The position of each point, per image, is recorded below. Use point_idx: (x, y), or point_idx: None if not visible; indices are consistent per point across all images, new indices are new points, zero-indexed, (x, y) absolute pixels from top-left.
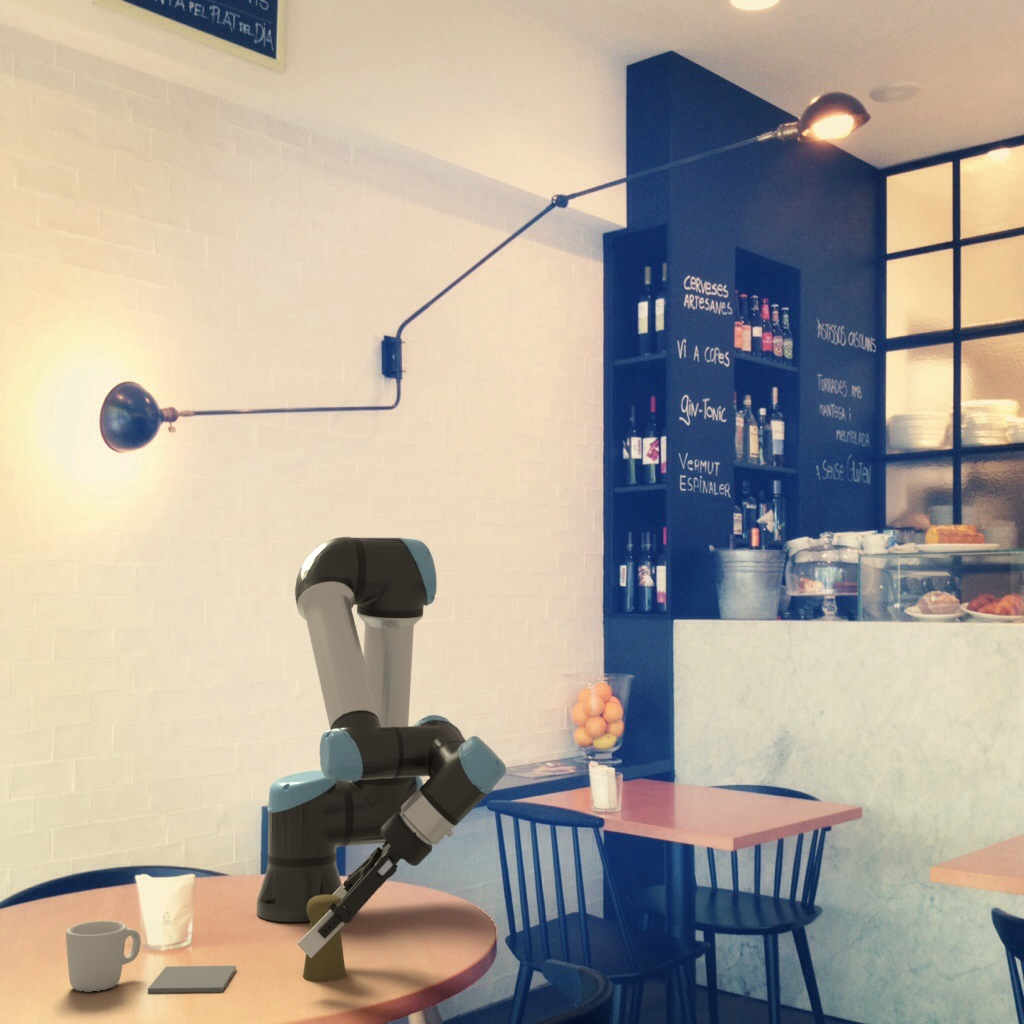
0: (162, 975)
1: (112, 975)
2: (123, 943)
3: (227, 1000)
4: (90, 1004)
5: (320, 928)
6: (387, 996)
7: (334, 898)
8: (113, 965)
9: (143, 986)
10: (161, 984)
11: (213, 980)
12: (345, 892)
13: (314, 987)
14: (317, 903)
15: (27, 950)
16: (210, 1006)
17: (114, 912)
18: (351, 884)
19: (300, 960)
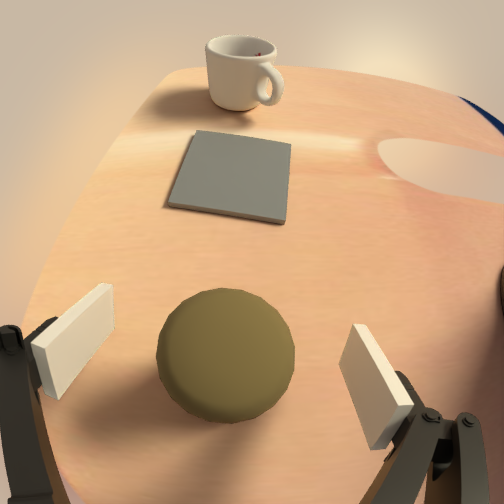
0: (249, 140)
1: (216, 96)
2: (230, 72)
3: (127, 214)
4: (176, 101)
5: (47, 321)
6: (70, 464)
7: (195, 385)
8: (216, 87)
9: (226, 130)
10: (209, 140)
11: (207, 190)
12: (385, 423)
13: (146, 351)
14: (172, 316)
15: (360, 79)
16: (111, 195)
17: (474, 140)
18: (398, 446)
19: (332, 331)
